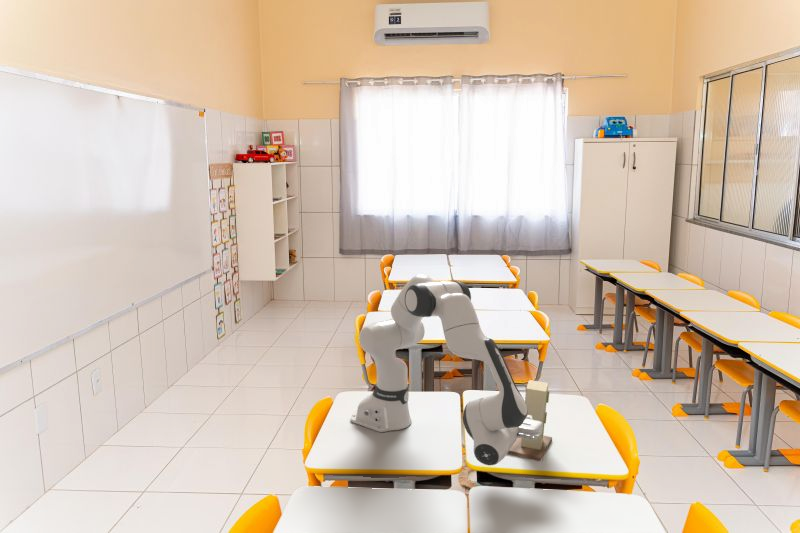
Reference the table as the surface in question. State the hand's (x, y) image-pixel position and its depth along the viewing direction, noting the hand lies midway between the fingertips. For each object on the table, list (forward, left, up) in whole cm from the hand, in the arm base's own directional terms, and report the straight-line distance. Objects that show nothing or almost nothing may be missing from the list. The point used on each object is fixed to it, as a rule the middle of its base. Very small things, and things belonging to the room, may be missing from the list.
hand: (515, 414), depth 202 cm
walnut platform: (0, +12, -16) cm, 20 cm away
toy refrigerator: (+3, +12, -15) cm, 20 cm away
